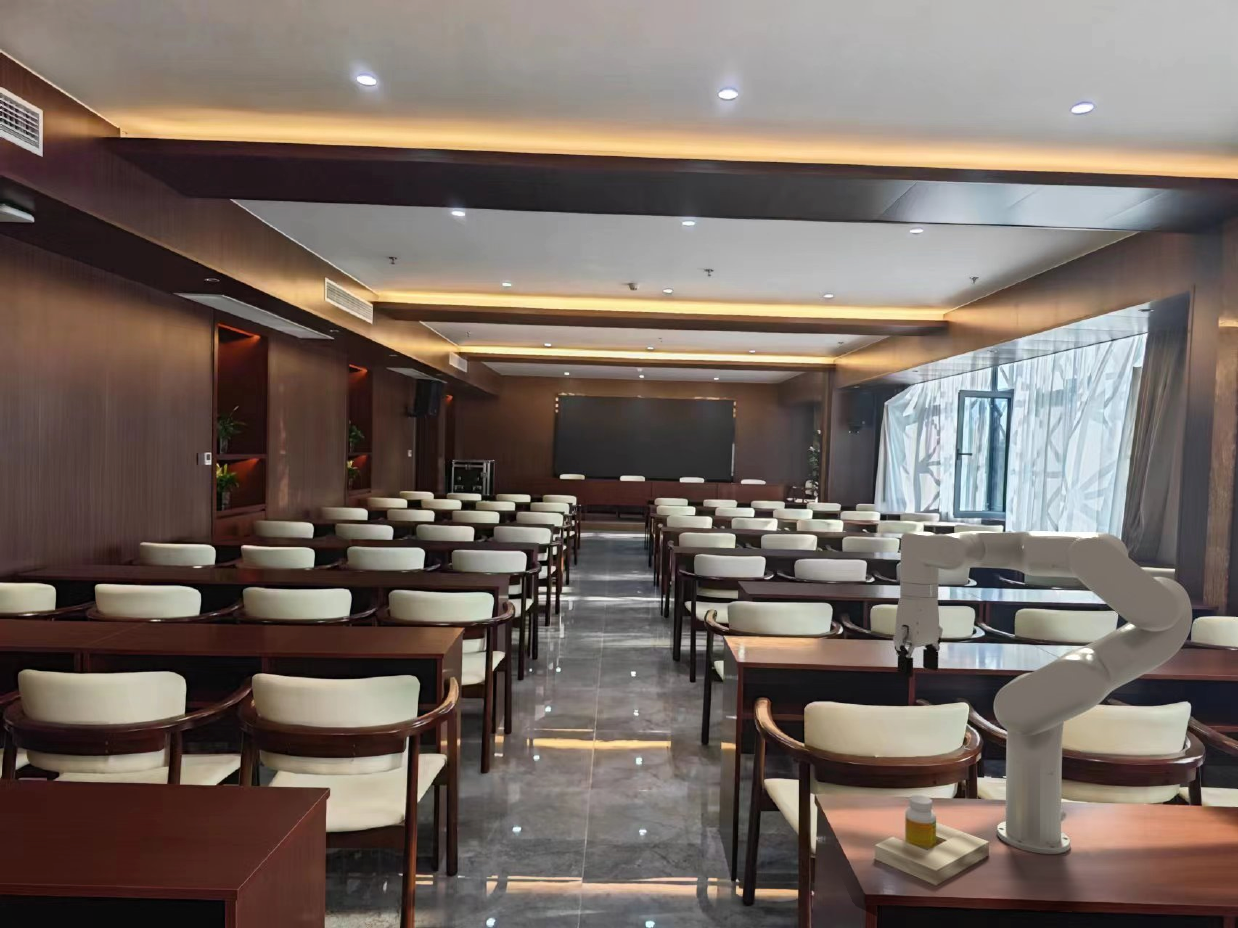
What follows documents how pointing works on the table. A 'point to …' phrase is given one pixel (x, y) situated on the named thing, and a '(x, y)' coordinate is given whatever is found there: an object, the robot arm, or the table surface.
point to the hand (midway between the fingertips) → (918, 672)
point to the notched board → (934, 854)
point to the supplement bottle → (920, 823)
